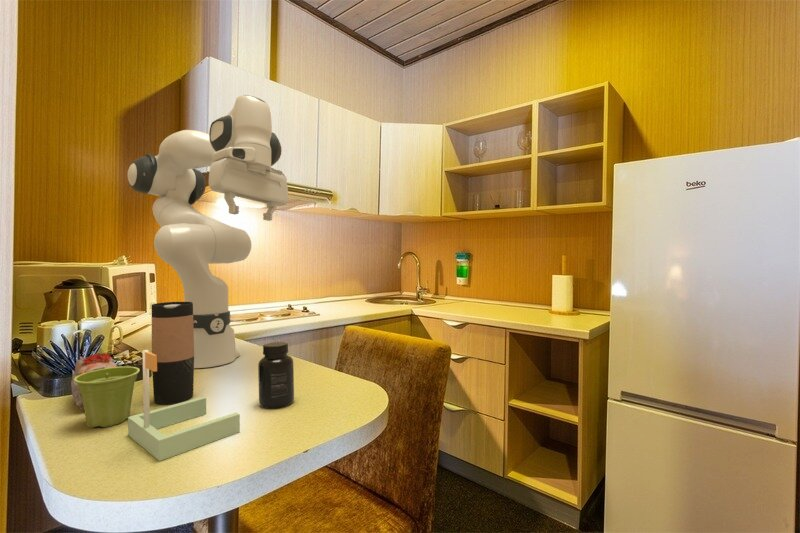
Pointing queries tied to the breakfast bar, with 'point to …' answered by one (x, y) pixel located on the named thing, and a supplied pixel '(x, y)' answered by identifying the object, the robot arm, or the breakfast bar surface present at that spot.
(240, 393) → the breakfast bar surface
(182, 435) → the u-shaped flag stand
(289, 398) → the supplement bottle
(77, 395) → the food item
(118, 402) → the plant pot
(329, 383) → the breakfast bar surface
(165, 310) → the travel mug
